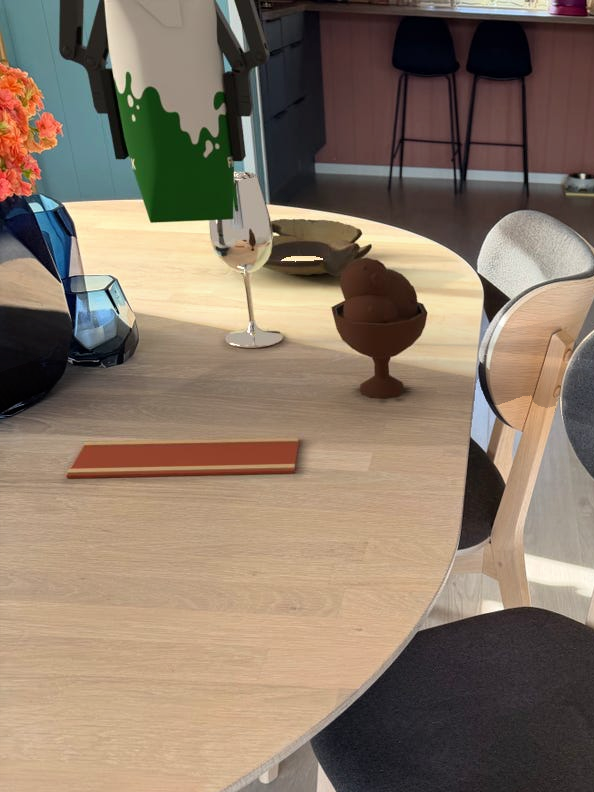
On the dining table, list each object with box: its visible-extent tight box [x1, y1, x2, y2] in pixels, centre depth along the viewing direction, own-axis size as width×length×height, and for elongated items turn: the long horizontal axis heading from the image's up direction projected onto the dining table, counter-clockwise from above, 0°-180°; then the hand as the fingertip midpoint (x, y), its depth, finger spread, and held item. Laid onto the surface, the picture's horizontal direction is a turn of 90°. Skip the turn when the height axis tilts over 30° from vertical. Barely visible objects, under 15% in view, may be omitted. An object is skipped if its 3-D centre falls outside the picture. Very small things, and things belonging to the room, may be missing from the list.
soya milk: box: [103, 0, 235, 224], centre depth 78 cm, size 9×9×20 cm
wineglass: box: [208, 171, 284, 349], centre depth 119 cm, size 8×8×20 cm
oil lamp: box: [262, 218, 373, 277], centre depth 150 cm, size 22×30×8 cm
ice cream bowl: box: [330, 257, 428, 399], centre depth 107 cm, size 11×11×15 cm
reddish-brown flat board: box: [66, 437, 300, 479], centre depth 95 cm, size 22×8×1 cm, turn 95°
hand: (181, 157), depth 82 cm, fingers closed on soya milk, 9 cm apart
